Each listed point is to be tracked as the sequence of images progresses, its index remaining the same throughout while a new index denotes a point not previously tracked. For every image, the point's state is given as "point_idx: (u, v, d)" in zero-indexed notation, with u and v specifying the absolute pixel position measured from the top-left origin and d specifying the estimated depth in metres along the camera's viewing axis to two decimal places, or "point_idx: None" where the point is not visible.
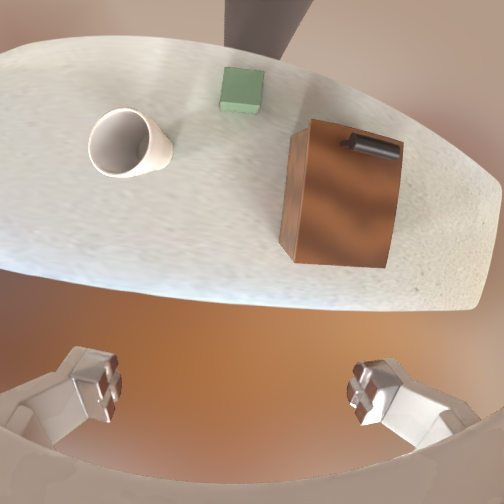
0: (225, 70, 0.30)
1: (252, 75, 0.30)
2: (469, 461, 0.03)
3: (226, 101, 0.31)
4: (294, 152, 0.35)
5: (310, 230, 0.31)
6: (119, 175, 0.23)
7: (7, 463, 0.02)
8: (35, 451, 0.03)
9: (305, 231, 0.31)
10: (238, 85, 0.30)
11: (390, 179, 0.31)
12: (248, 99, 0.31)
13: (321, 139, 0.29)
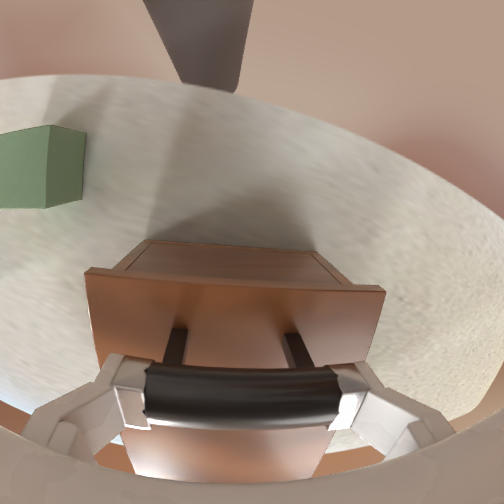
0: None
1: (32, 141, 0.12)
2: (469, 461, 0.03)
3: (2, 206, 0.12)
4: None
5: (147, 458, 0.13)
6: None
7: (7, 463, 0.02)
8: (35, 451, 0.03)
9: (139, 458, 0.13)
10: (14, 170, 0.12)
11: None
12: (28, 197, 0.13)
13: (118, 325, 0.10)
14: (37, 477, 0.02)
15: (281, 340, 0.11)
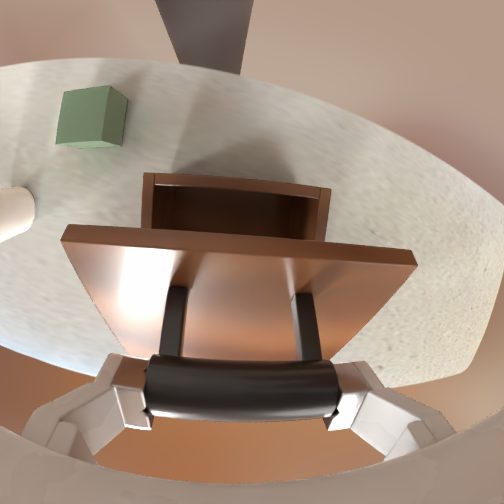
0: (64, 96, 0.18)
1: (94, 96, 0.18)
2: (469, 461, 0.03)
3: (62, 142, 0.19)
4: None
5: None
6: None
7: (7, 463, 0.02)
8: (35, 451, 0.03)
9: None
10: (76, 115, 0.18)
11: (334, 330, 0.13)
12: (86, 134, 0.19)
13: (110, 282, 0.09)
14: (37, 477, 0.02)
15: (291, 297, 0.10)
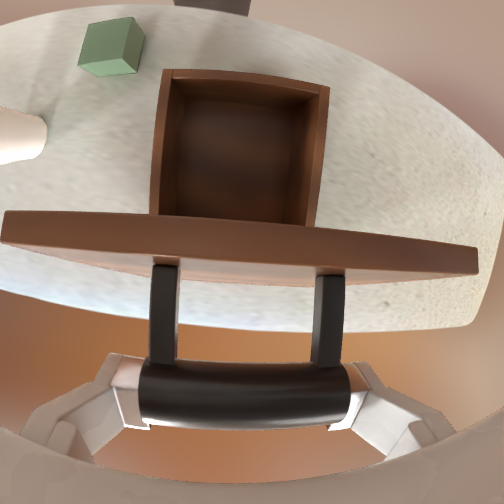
0: (88, 27, 0.17)
1: (117, 25, 0.17)
2: (469, 461, 0.03)
3: (84, 63, 0.18)
4: None
5: None
6: None
7: (7, 463, 0.02)
8: (35, 451, 0.03)
9: (144, 275, 0.17)
10: (100, 41, 0.18)
11: None
12: (108, 54, 0.18)
13: (79, 257, 0.07)
14: (37, 477, 0.02)
15: (317, 275, 0.08)
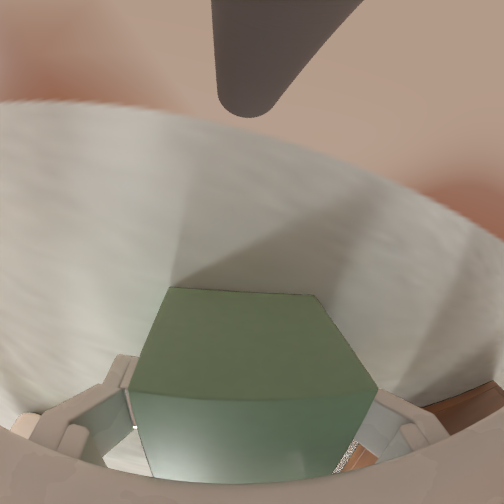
0: (138, 408, 0.04)
1: (308, 424, 0.05)
2: (469, 461, 0.03)
3: None
4: None
5: None
6: None
7: (7, 463, 0.02)
8: (35, 451, 0.03)
9: None
10: (230, 465, 0.05)
11: None
12: None
13: None
14: (37, 477, 0.02)
15: None
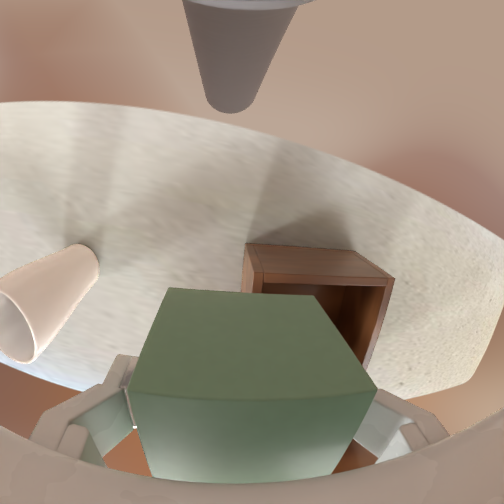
0: (137, 408, 0.04)
1: (307, 424, 0.05)
2: (469, 461, 0.03)
3: None
4: (245, 277, 0.27)
5: None
6: (20, 362, 0.15)
7: (7, 463, 0.02)
8: (35, 451, 0.03)
9: None
10: (230, 466, 0.05)
11: None
12: None
13: None
14: (37, 477, 0.02)
15: None
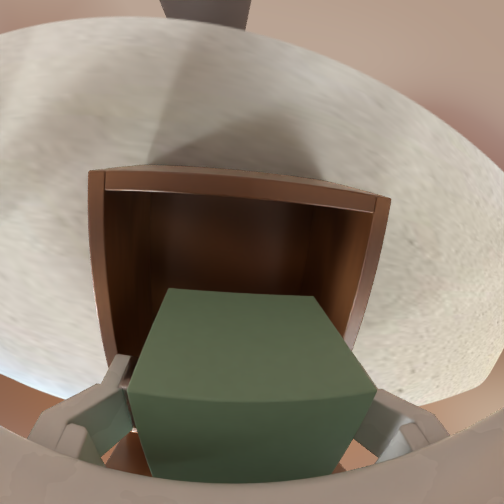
0: (137, 409, 0.04)
1: (307, 425, 0.05)
2: (469, 461, 0.03)
3: None
4: None
5: None
6: None
7: (7, 463, 0.02)
8: (35, 451, 0.03)
9: None
10: (229, 466, 0.05)
11: None
12: None
13: None
14: (37, 477, 0.02)
15: None
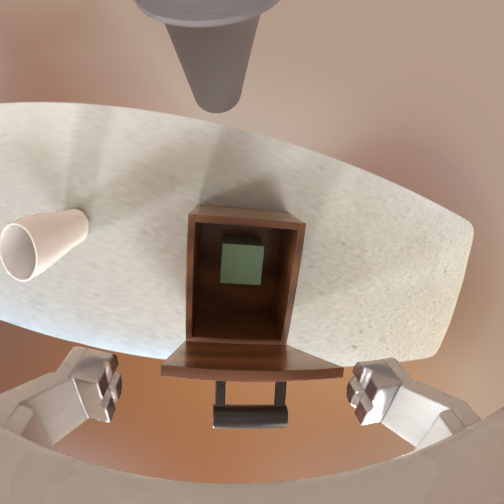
0: (223, 247, 0.33)
1: (252, 252, 0.34)
2: (469, 461, 0.03)
3: (226, 282, 0.34)
4: None
5: None
6: (23, 280, 0.23)
7: (7, 463, 0.02)
8: (35, 451, 0.03)
9: None
10: (238, 265, 0.34)
11: None
12: (248, 279, 0.35)
13: None
14: (37, 477, 0.02)
15: None
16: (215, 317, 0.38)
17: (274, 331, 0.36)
